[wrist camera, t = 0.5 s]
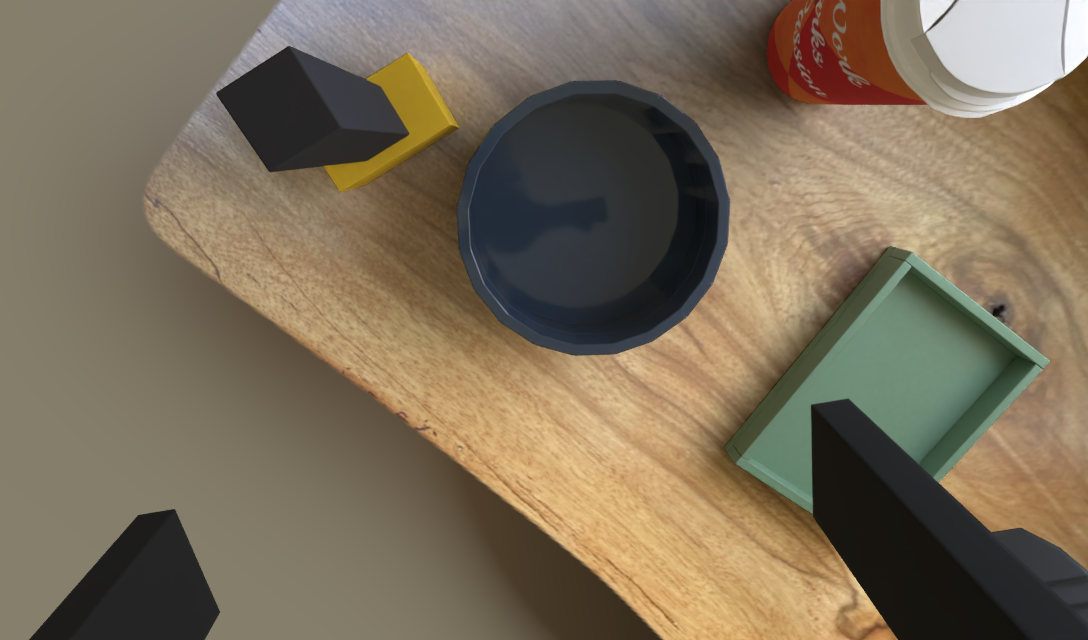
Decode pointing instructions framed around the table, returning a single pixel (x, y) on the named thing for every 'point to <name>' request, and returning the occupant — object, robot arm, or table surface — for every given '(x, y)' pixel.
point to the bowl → (593, 217)
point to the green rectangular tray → (892, 376)
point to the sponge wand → (337, 115)
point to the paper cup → (926, 51)
